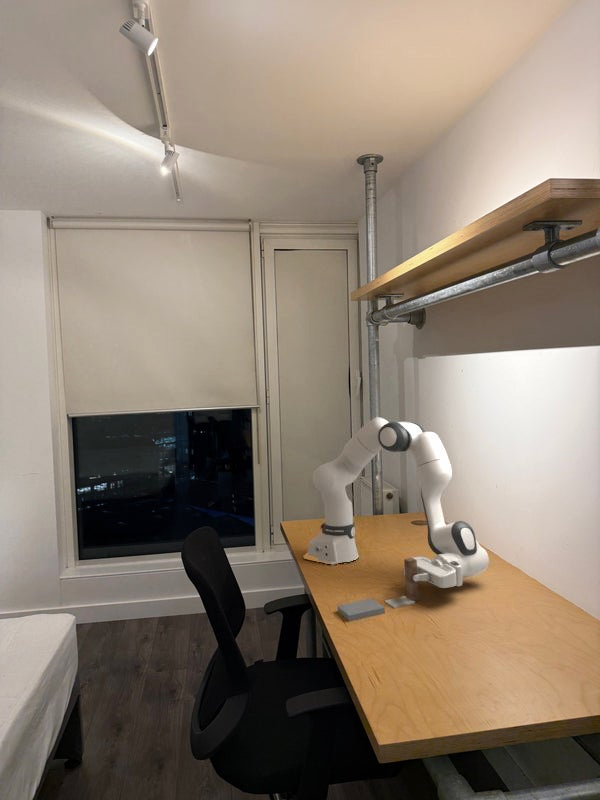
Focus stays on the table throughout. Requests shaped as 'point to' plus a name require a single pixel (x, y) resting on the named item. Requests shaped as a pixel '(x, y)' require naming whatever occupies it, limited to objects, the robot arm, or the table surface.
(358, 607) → the tile
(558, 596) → the table surface
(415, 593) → the brown and white bookend
